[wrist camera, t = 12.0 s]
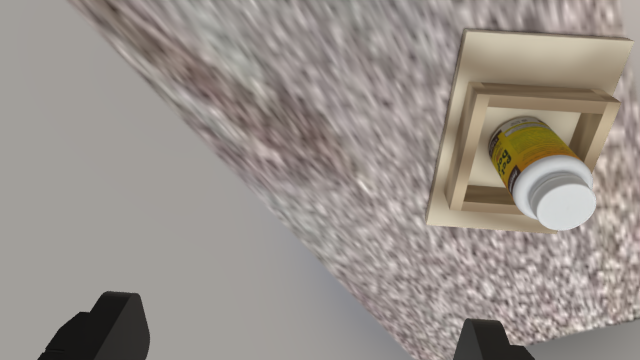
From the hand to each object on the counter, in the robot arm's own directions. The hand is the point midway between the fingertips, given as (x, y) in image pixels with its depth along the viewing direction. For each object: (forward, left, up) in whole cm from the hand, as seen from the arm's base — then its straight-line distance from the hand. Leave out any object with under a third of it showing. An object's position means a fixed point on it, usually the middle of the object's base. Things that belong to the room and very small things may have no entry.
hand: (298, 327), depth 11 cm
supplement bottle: (+8, +17, -29) cm, 35 cm away
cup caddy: (+8, +17, -30) cm, 35 cm away
